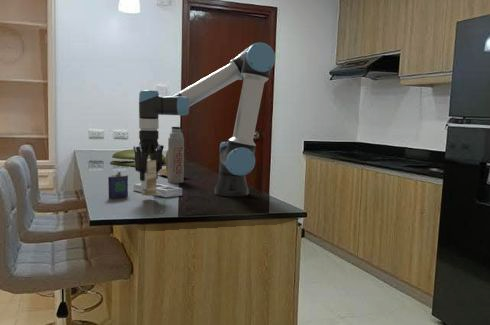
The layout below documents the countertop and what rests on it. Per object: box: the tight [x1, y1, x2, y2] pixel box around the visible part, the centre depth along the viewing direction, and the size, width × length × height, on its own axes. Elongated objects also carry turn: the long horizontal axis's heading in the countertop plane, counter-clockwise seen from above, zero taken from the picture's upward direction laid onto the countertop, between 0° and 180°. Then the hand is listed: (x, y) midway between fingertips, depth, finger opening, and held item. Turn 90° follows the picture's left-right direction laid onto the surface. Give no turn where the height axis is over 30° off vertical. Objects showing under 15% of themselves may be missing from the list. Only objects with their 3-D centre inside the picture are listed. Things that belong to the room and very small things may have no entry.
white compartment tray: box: [133, 182, 183, 198], centre depth 203 cm, size 22×9×3 cm, turn 50°
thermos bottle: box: [167, 126, 185, 184], centre depth 235 cm, size 8×8×28 cm
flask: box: [107, 171, 129, 200], centre depth 188 cm, size 9×3×11 cm, turn 144°
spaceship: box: [109, 148, 166, 168], centre depth 309 cm, size 35×31×10 cm
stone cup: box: [158, 149, 168, 178], centre depth 255 cm, size 15×12×15 cm
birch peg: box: [141, 159, 156, 197], centre depth 186 cm, size 4×4×14 cm
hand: (148, 188), depth 186 cm, fingers closed on birch peg, 4 cm apart
